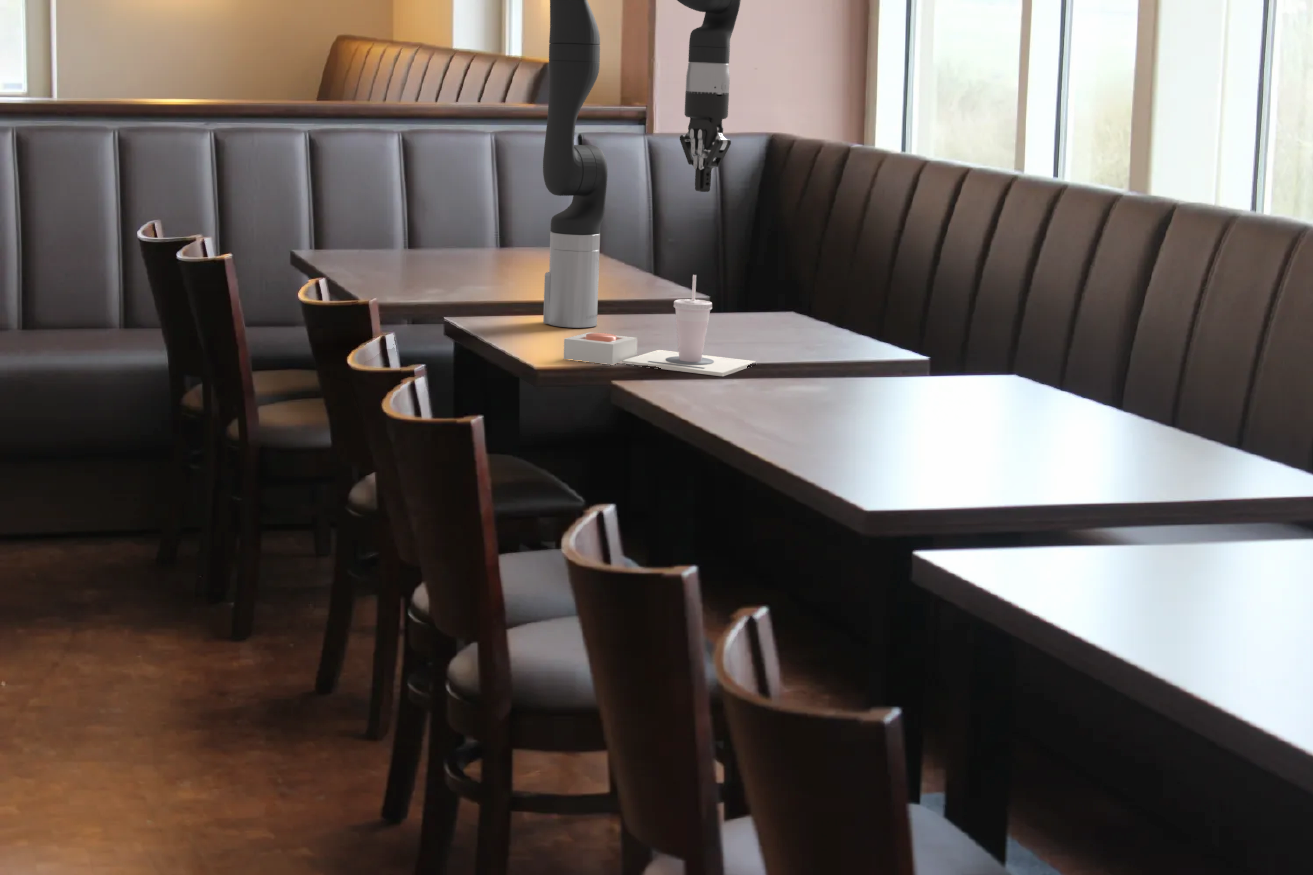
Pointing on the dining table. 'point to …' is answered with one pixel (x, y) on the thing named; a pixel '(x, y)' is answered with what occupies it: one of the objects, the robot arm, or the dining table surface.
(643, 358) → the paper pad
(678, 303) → the smoothie
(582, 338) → the button housing
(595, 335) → the button
